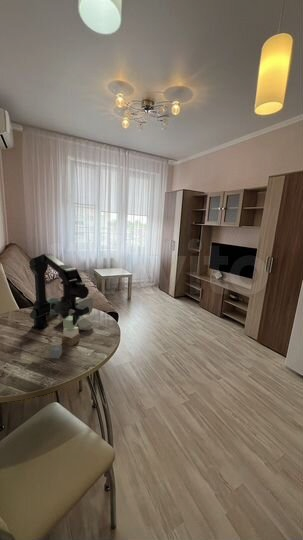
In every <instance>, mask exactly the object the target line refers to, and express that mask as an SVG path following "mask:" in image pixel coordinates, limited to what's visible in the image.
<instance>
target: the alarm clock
mask: <svg viewBox="0 0 303 540" xmlns="http://www.w3.org/2000/svg"><path fill="white" fill-rule="evenodd" d="M76 303H78V305H77V306H76V307H80V306H82V305H83V306H87V307H89V312H88V313H86V314H85V315H91V313H92V311H93V308H94V300H93V298H92V297H90V296H87V297H86V298H84V299H81V298H78V297H77V298H76ZM72 313H74V311H73V310H69V315H68V316H72V315H71V314H72ZM58 315H59V318H60V319H62V320H63V317H62V315H61V314H59V313H58ZM80 317H81V316H79V318H80ZM79 318H78V320H79ZM78 320H77V321H78Z"/></svg>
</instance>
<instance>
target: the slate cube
mask: <svg viewBox="0 0 303 540" xmlns="http://www.w3.org/2000/svg"><path fill="white" fill-rule="evenodd" d="M48 354H49V359H60V357H61V356H62V354H63V345H60V344H58V345H56V344H52V346H51V347H50V348H49V353H48Z"/></svg>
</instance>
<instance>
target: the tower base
mask: <svg viewBox="0 0 303 540" xmlns="http://www.w3.org/2000/svg"><path fill="white" fill-rule="evenodd" d="M80 335H81V334H80V333H79V332H78V334H77V335H76V336H74V337H73V338H69V337H65V336H64V334H63V335H61V344H63V345H67V346H70V347H72V346H74V345H75V344H77V343H79V342H80V341H81V340H80V339H81V337H80Z"/></svg>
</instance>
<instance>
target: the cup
mask: <svg viewBox="0 0 303 540" xmlns="http://www.w3.org/2000/svg"><path fill="white" fill-rule="evenodd" d="M46 300H47V301H48V302H49V303H50V308H51V304H52V303H54V302H56V301H61V298H58V297H50V298H46ZM57 315H59V313H55V310H53V309H50V314H49V315H48V316H51V317H54V316H57Z"/></svg>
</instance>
